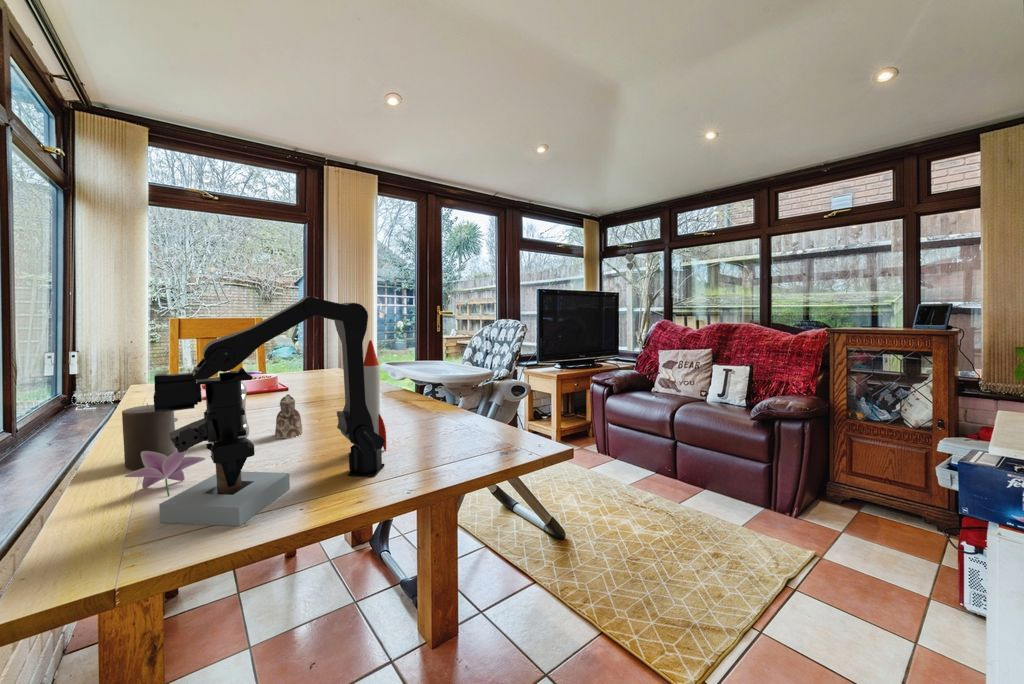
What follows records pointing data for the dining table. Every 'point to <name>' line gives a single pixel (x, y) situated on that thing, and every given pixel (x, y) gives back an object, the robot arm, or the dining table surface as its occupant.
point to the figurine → (288, 419)
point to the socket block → (224, 500)
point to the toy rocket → (373, 390)
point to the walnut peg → (222, 484)
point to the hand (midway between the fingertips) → (229, 482)
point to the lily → (163, 467)
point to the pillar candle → (146, 433)
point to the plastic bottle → (244, 408)
